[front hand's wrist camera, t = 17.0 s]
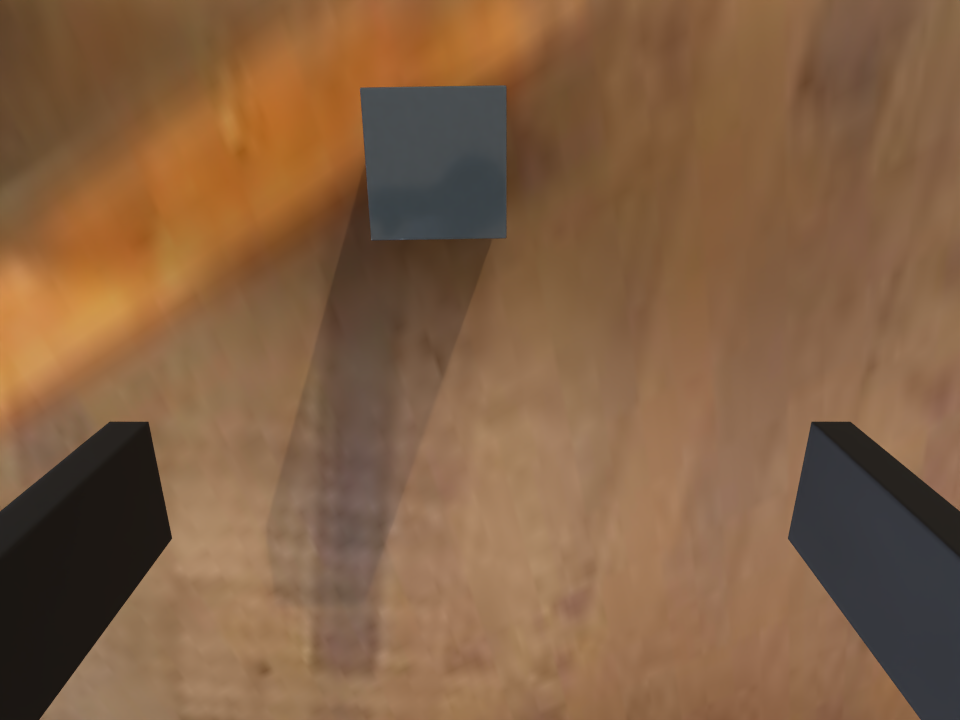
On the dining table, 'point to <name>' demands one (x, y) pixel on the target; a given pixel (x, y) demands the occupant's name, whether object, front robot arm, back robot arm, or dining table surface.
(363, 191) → the dining table surface
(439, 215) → the cube
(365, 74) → the dining table surface
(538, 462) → the dining table surface
